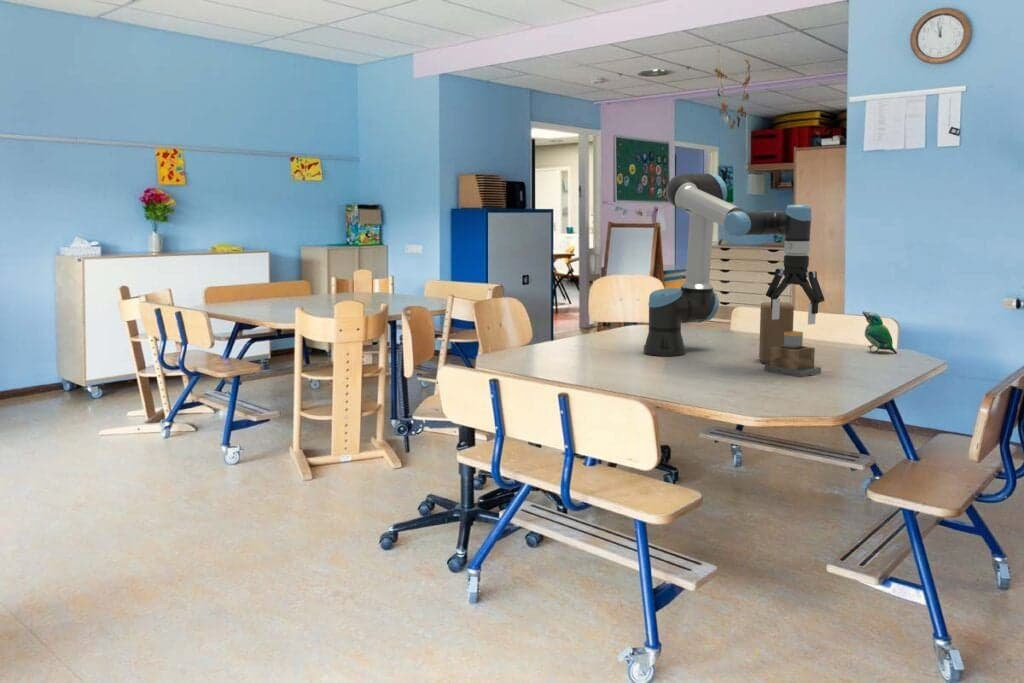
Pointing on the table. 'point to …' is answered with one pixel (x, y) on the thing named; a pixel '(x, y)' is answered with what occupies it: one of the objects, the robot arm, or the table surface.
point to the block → (773, 328)
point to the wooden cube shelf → (792, 357)
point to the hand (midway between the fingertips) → (793, 321)
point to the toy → (877, 332)
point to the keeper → (794, 342)
